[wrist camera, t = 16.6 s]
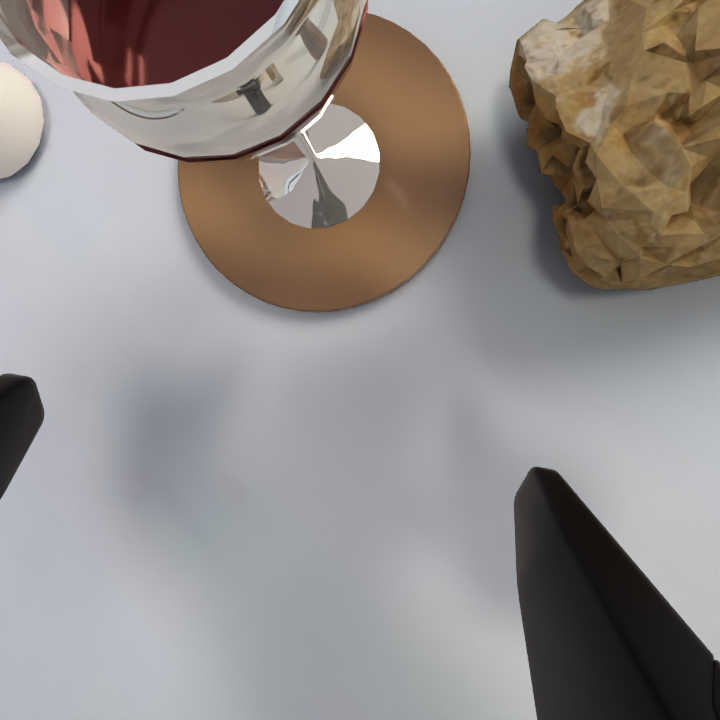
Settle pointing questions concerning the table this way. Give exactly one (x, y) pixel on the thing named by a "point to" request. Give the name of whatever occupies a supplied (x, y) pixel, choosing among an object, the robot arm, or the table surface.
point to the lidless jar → (18, 120)
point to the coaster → (379, 214)
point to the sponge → (628, 136)
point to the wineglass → (217, 86)
